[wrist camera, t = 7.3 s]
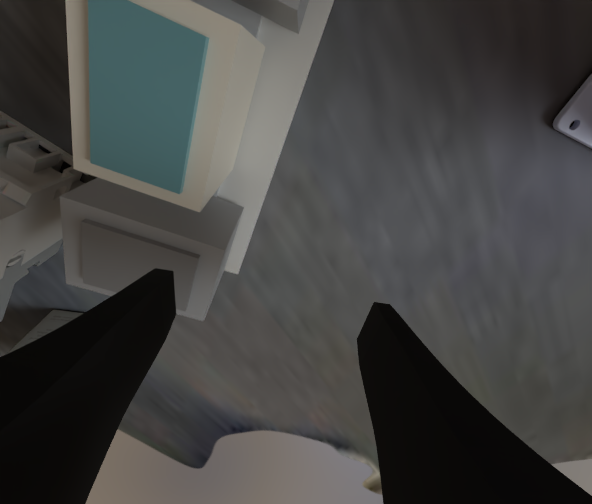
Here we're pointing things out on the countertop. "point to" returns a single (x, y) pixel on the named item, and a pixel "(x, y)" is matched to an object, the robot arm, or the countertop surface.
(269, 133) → the rail board
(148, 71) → the block
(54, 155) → the circuit breaker
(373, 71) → the countertop surface
